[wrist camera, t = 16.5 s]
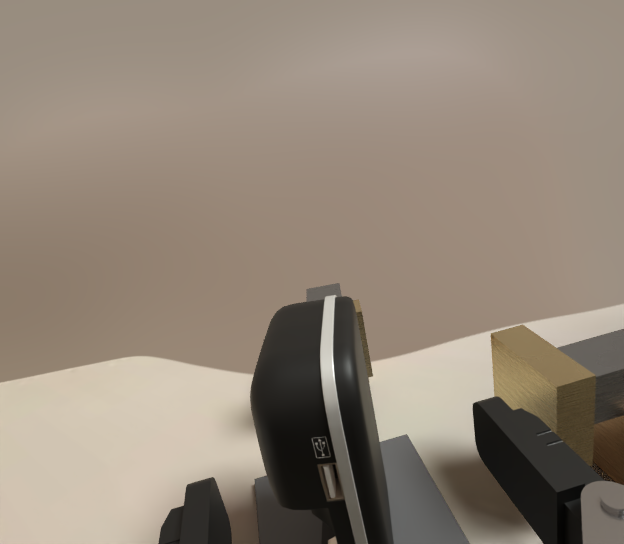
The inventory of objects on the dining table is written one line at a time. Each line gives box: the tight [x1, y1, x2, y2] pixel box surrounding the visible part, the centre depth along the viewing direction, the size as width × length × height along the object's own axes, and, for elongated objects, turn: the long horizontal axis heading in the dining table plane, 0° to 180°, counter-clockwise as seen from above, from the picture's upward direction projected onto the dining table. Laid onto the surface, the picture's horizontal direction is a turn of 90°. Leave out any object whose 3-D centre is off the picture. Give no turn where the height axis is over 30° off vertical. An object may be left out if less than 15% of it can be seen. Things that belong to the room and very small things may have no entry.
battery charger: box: [250, 295, 394, 544], centre depth 18 cm, size 7×4×11 cm, turn 176°
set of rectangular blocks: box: [307, 283, 624, 485], centre depth 25 cm, size 8×23×8 cm, turn 50°
